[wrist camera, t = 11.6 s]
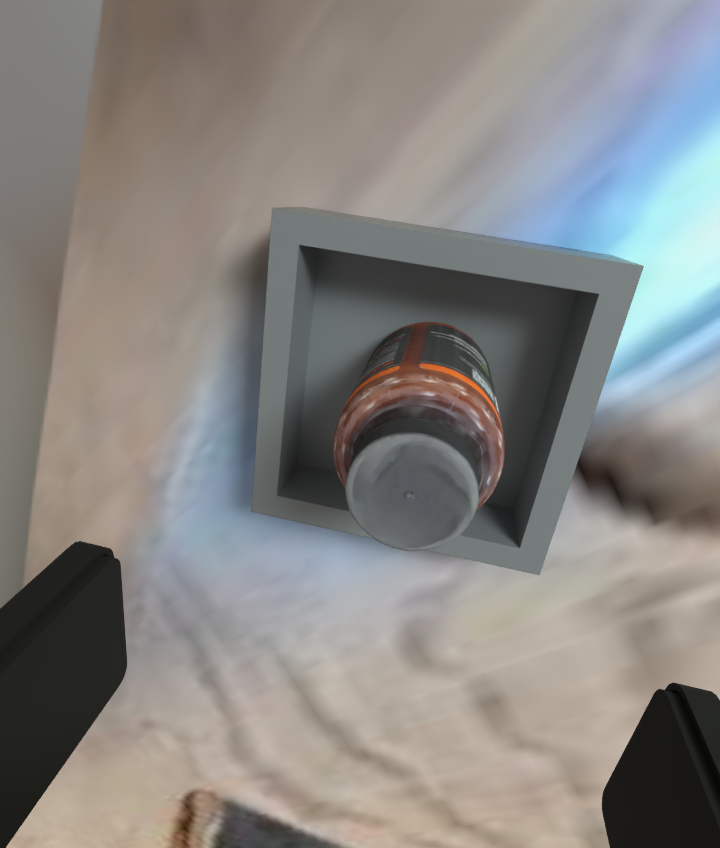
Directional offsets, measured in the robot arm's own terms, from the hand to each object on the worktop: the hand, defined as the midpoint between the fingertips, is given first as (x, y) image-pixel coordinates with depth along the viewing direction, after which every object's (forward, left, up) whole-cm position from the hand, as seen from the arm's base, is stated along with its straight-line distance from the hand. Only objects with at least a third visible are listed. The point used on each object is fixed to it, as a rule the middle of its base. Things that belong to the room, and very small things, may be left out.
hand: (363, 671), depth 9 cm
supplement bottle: (0, 0, -18) cm, 18 cm away
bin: (+1, 0, -19) cm, 19 cm away
